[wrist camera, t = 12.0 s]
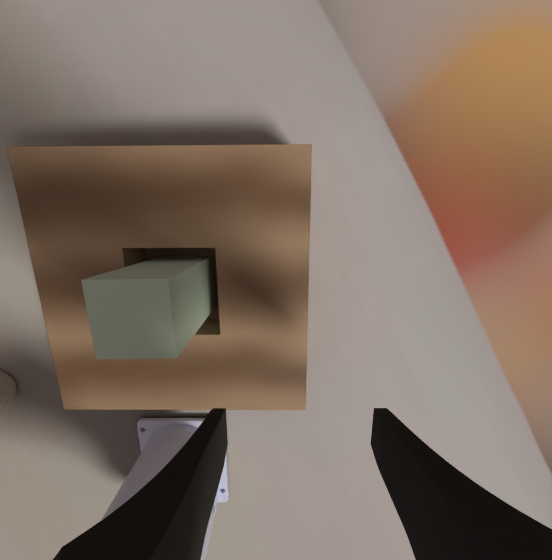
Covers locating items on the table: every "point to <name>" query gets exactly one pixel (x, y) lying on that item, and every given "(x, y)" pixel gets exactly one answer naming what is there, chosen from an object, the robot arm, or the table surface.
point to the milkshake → (6, 388)
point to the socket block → (175, 243)
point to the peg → (149, 307)
